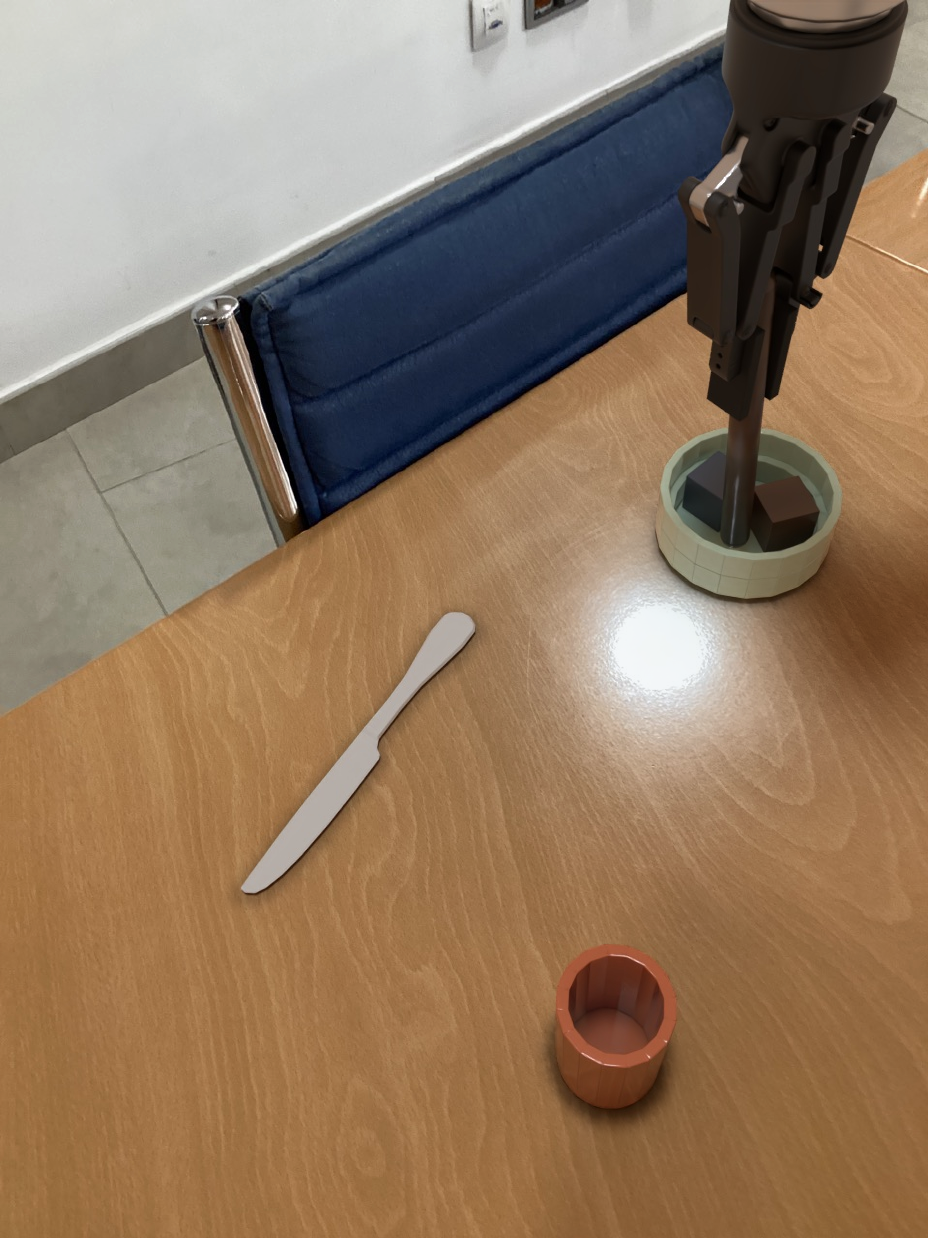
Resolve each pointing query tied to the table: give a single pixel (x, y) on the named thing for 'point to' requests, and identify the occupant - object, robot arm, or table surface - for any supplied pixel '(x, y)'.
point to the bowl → (748, 566)
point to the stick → (746, 443)
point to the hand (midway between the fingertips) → (742, 396)
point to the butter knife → (358, 755)
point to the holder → (613, 1024)
